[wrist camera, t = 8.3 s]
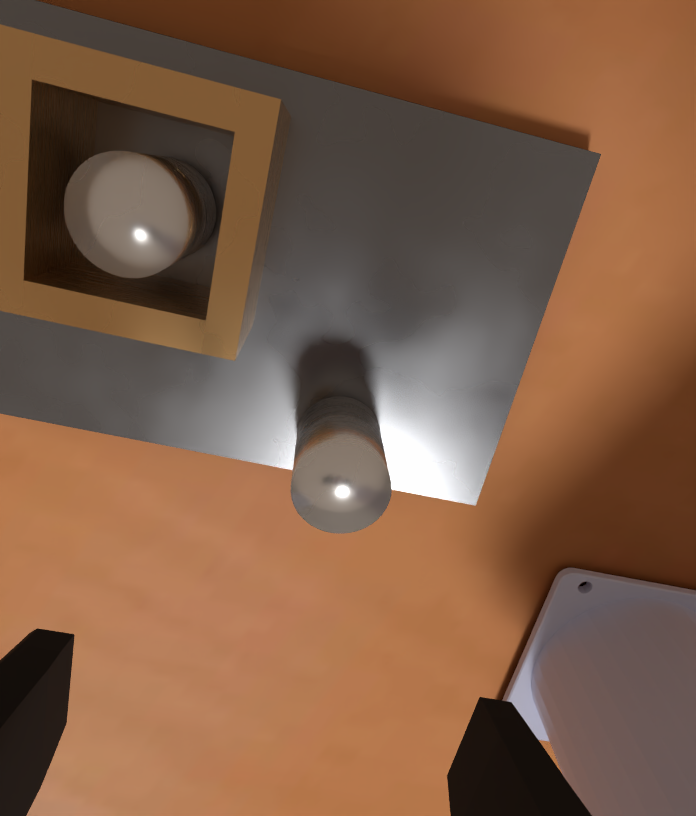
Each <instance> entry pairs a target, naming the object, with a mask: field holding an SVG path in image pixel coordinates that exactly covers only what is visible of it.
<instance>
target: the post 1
mask: <svg viewBox="0 0 696 816" xmlns="http://www.w3.org/2000/svg"><path fill="white" fill-rule="evenodd" d="M64 215H65V221H66V224H67V228H68V230H69V233H70V235H71V237H72V239H73V241H74V243H75V244H76V246H77V247H78V249H79V250H80V251H81V252H82V254H83V255H84V256H85V257H86V258H87V259H88V260H89V261H90V262H92V263H93V264H94V265H96V266H97V267H99V268H100V269H102V270H104V271H106V272H108V273H110V274H113V275H116V276H120V277H125V278H143V277H147V276H151V275H154V274H156V273H159V272H160V271H162V270H164V269H166V268H167V267H169V266H171V265H173V264H174V263H176V262H178V261H180V260H182V259H183V258H185V257H187V256H189V255H190V254H192V253H194V252H196V251H197V250H198V249H200V248H201V247H202V246H203V245H204V244H205V243H206V242H207V240H208V239H209V237H210V235H211V233H212V231H213V228H214V225H215V220H216V205H215V200H214V197H213V193H212V191H211V189H210V187H209V185H208V183H207V182H206V180H205V179H204V178H203V176H202V175H201V174H200V173H199V172H198V171H197V170H196V169H195V168H193V167H192V166H191V165H189V164H187V163H186V162H184V161H182V160H179V159H176V158H172V157H167V156H159V155H151V154H144V153H136V152H128V151H108V152H104V153H100V154H97V155H95V156H93V157H91V158H89V159H88V160H86V161H85V162H84V163H82V164H81V165H80V166H79V167H78V168H77V170H76V171H75V172H74V174H73V175H72V177H71V178H70V181H69V183H68V185H67V188H66V192H65V198H64Z"/></svg>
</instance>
